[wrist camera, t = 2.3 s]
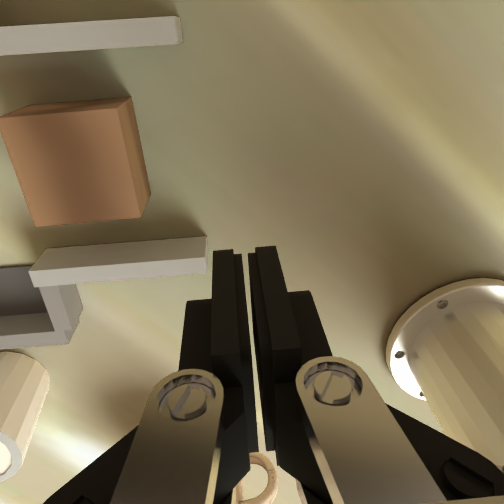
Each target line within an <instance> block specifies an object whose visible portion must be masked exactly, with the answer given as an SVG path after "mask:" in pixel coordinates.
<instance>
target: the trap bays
mask: <svg viewBox="0 0 504 504" xmlns="http://www.w3.org/2000/svg"><path fill="white" fill-rule="evenodd" d="M32 266H33V265H28V266H15V267H2V268H0V350H2V349H14V348H26V347H38V346H49V345H61V344H69V342H70V340H71V338H72V336H73V333H74V331H75V329H76V327H77V325H78V323H79V320H78V318H79V316H80V314H81V312H82V310H83V306H82V303H81V300H80V297H79V294H78V290H77V287H76V284H70V285H58V286H45V287H34V286H33V283H32V280H31V278H30V275H29V272H28V271H29V270H30V268H31V267H32Z"/></svg>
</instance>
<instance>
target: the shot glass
mask: <svg viewBox="0 0 504 504" xmlns="http://www.w3.org/2000/svg"><path fill="white" fill-rule="evenodd" d="M49 383H50V378H49V375H48V373H47V371H46V369H45V368H44V367H43V366H42V365H41V364H40V363H39V362H38V361H36V360H35V359H33V358H30V357H28V356H26V355H24V354H20V353H14V352H8V351H7V352H0V482H1V481H4V480H6V479H8V478H11V477H13V476H14V475H15V474H16V472H17V471H18V470H19V469H20V468H21V467H22V464H23V461H24V458H25V455H26V452H27V449H28V447H29V444H30V441H31V438H32V435H33V432H34V429H35V427H36V424H37V421H38V418H39V415H40V412H41V409H42V406H43V404H44V401H45V398H46V395H47V392H48V389H49Z"/></svg>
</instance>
